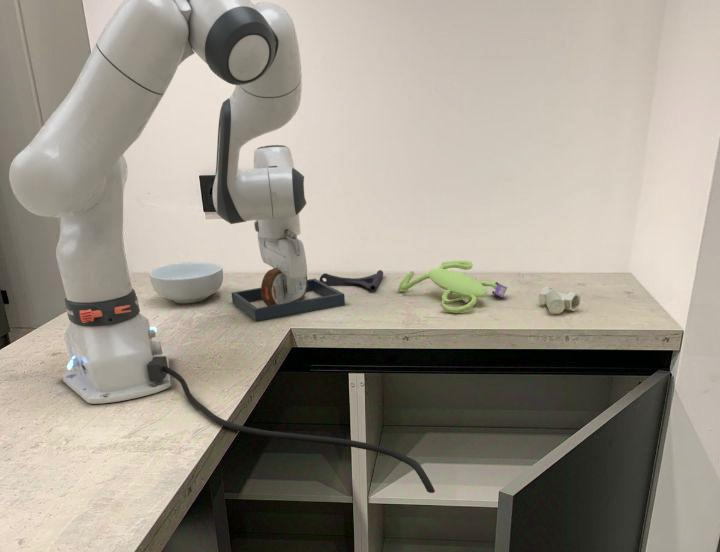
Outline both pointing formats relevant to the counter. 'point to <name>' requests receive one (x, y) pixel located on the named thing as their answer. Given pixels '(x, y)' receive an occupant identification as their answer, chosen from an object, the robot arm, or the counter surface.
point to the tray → (327, 301)
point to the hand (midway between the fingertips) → (286, 290)
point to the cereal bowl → (187, 281)
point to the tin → (281, 288)
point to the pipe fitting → (559, 300)
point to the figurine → (455, 284)
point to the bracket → (354, 280)
